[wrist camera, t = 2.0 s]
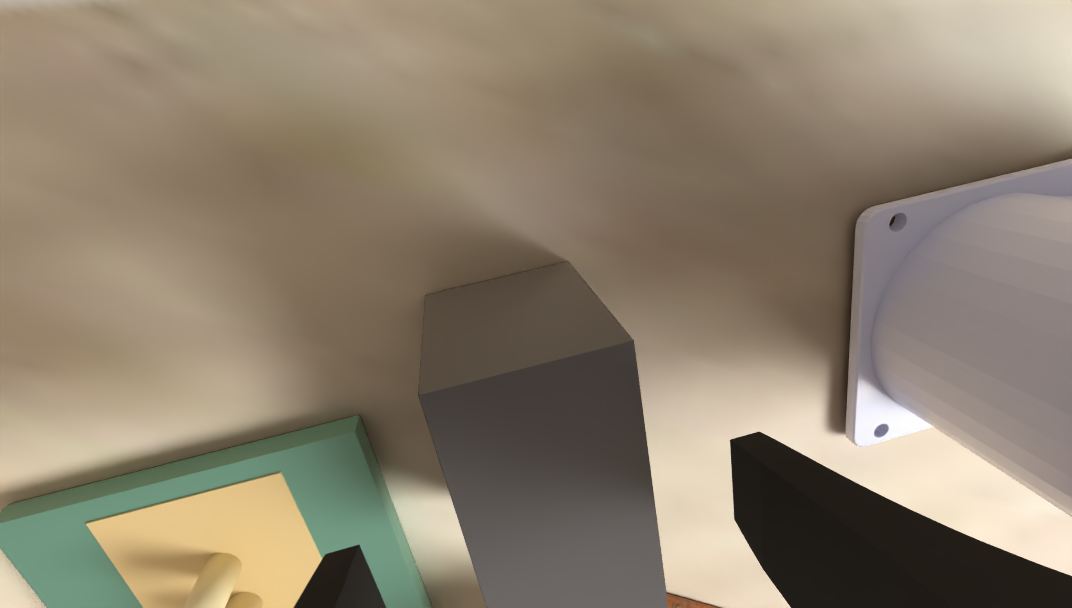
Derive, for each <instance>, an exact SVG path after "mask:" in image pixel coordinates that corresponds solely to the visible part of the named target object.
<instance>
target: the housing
mask: <svg viewBox="0 0 1072 608" xmlns="http://www.w3.org/2000/svg"><path fill="white" fill-rule="evenodd" d="M418 396H419V399H420V402H421V405H422V408H423V411H424V415H425V418H426V421H427V424H428V427H429V430H430V433H431V436H432V439H433V443H434V446H435V449H436V452H437V455H438V458H439V461H440V464H441V467H442V471H443V474H444V477H445V480H446V483H447V486H448V489H449V492H450V495H451V498H452V502H453V505H454V508H455V511H456V514H457V517H458V520H459V523H460V526H461V530H462V533H463V536H464V539H465V542H466V545H467V548H468V551H469V554H470V557H471V561H472V564H473V567H474V570H475V573H476V576H477V579H478V582H479V585H480V589H481V592H482V595H483V598H484V601H485V604H486V607H487V608H668V601H667V594H666V586H665V578H664V571H663V563H662V555H661V547H660V540H659V532H658V524H657V516H656V509H655V501H654V493H653V486H652V478H651V470H650V462H649V455H648V447H647V439H646V432H645V424H644V416H643V408H642V401H641V393H640V385H639V378H638V370H637V362H636V354H635V347H634V340H633V339H632V338H631V337H630V335H629V334H628V333H627V332H626V331H625V329H624V328H623V327H622V326H621V324H620V323H619V322H618V321H617V320H616V318H615V317H614V316H613V315H612V314H611V312H610V311H609V310H608V309H607V308H606V306H605V305H604V304H603V303H602V302H601V300H600V299H599V298H598V297H597V295H596V294H595V293H594V292H593V291H592V289H591V288H590V287H589V286H588V285H587V283H586V282H585V281H584V280H583V279H582V277H581V276H580V275H579V274H578V273H577V271H576V270H575V269H574V268H573V267H572V265H571V264H570V263H569V262H568V261H567V262H563V263H559V264H555V265H551V266H546V267H542V268H538V269H534V270H529V271H525V272H521V273H517V274H513V275H508V276H504V277H500V278H496V279H492V280H487V281H483V282H479V283H475V284H470V285H466V286H462V287H458V288H454V289H449V290H445V291H441V292H437V293H432V294H428V295H425V306H424V320H423V334H422V349H421V363H420V377H419V392H418Z"/></svg>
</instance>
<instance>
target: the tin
mask: <svg viewBox="0 0 1072 608" xmlns="http://www.w3.org/2000/svg"><path fill="white" fill-rule="evenodd" d="M666 594H667V593H666ZM667 601H668V608H717V607H714V606H711V605H707V604H703V603H700V602H696V601H692V600H689V599H685V598H682V597H678V596H674V595H671V594H667Z"/></svg>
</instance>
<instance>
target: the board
mask: <svg viewBox="0 0 1072 608" xmlns="http://www.w3.org/2000/svg"><path fill="white" fill-rule="evenodd" d="M355 545H360V547H361V549H362V552H363V554H364V556H365V559H366V561H367V563H368V566H369V568H370V570H371V573H372V575H373V577H374V580H375V582H376V584H377V587H378V589H379V591H380V594H381V596H382V598H383V601H384V603H385V606H386V608H432V605H431V603H430V600H429V598H428V595H427V592H426V590H425V587H424V584H423V582H422V579H421V576H420V574H419V571H418V569H417V566H416V563H415V561H414V558H413V555H412V553H411V550H410V547H409V545H408V542H407V540H406V537H405V534H404V532H403V529H402V526H401V524H400V521H399V518H398V516H397V513H396V511H395V508H394V505H393V503H392V500H391V497H390V495H389V492H388V489H387V487H386V484H385V482H384V479H383V476H382V474H381V471H380V468H379V466H378V463H377V460H376V458H375V455H374V453H373V450H372V447H371V445H370V442H369V439H368V437H367V434H366V431H365V429H364V426H363V424H362V421H361V418H360V416H359V415H357V416H353V417H349V418H345V419H341V420H337V421H333V422H329V423H325V424H322V425H318V426H314V427H310V428H306V429H302V430H298V431H294V432H290V433H286V434H282V435H278V436H274V437H271V438H267V439H263V440H259V441H255V442H251V443H247V444H243V445H239V446H235V447H231V448H227V449H223V450H220V451H216V452H212V453H208V454H204V455H200V456H196V457H192V458H188V459H184V460H180V461H176V462H173V463H169V464H165V465H161V466H157V467H153V468H149V469H145V470H141V471H137V472H133V473H129V474H125V475H122V476H118V477H114V478H110V479H106V480H102V481H98V482H94V483H90V484H86V485H82V486H78V487H75V488H71V489H67V490H63V491H59V492H55V493H51V494H47V495H43V496H39V497H35V498H31V499H27V500H24V501H20V502H16V503H12V504H9V505H8V506H7V507H5V508H4V509H3V510H2V511H1V512H0V548H1V549H2V551H3V552H4V553H5V555H6V556H7V557H8V558H9V560H10V561H11V562H12V563H13V565H14V566H15V567H16V569H17V570H18V571H19V572H20V574H21V575H22V576H23V577H24V579H25V580H26V581H27V583H28V584H29V585H30V586H31V588H32V589H33V590H34V591H35V593H36V594H37V595H38V597H39V598H40V599H41V600H42V602H43V603H44V604H45V605H46V607H47V608H293V607H294V606H295V604H296V602H297V601H298V599H299V597H300V596H301V594H302V592H303V590H304V589H305V587H306V585H307V584H308V582H309V580H310V579H311V577H312V575H313V573H314V572H315V570H316V569H317V567H318V565H319V564H320V562H321V560H322V559H323V557H324V556H325V554H327V553H331V552H334V551H338V550H341V549H345V548H348V547H352V546H355Z"/></svg>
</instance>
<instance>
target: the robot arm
mask: <svg viewBox="0 0 1072 608" xmlns="http://www.w3.org/2000/svg"><path fill="white" fill-rule="evenodd" d="M894 215H895V220H894V223H893V224H892V225H891V226H889V224H890V221H891V219H892V218H893V216H894ZM930 427H935V428H936V429H938V430H939V431H941V432H942V433H944V434H946V435H947V436H949V437H950V438H952V439H953V440H955V441H956V442H958V443H959V444H961V445H962V446H964V447H965V448H967V449H969V450H970V451H972V452H973V453H975V454H976V455H978V456H979V457H981V458H982V459H984V460H985V461H987V462H989V463H990V464H992V465H993V466H995V467H996V468H998V469H999V470H1001V471H1002V472H1004V473H1005V474H1007V475H1009V476H1010V477H1012V478H1013V479H1015V480H1016V481H1018V482H1019V483H1021V484H1022V485H1024V486H1025V487H1027V488H1029V489H1030V490H1032V491H1033V492H1035V493H1036V494H1038V495H1039V496H1041V497H1042V498H1044V499H1045V500H1047V501H1048V502H1050V503H1052V504H1053V505H1055V506H1056V507H1058V508H1059V509H1061V510H1062V511H1064V512H1065V513H1067V514H1068V515H1070V516H1072V159H1068V160H1064V161H1059V162H1055V163H1051V164H1047V165H1043V166H1039V167H1034V168H1030V169H1026V170H1022V171H1018V172H1014V173H1010V174H1005V175H1001V176H997V177H993V178H989V179H985V180H980V181H976V182H972V183H968V184H964V185H960V186H955V187H951V188H947V189H943V190H939V191H935V192H930V193H926V194H922V195H918V196H914V197H910V198H905V199H901V200H897V201H893V202H889V203H885V204H880V205H876V206H873V207H870V208H868V209H866V210H865V211H864V212H863V213H862V214H861V215H860V217H859V218H858V220H857V223H856V228H855V248H854V269H853V289H852V310H851V330H850V351H849V371H848V392H847V412H846V437H847V438H848V439H849V440H850V441H851V442H852V443H854V444H855V445H857V446H860V447H861V446H867V445H871V444H874V443H878V442H881V441H885V440H888V439H892V438H895V437H899V436H902V435H906V434H909V433H913V432H916V431H920V430H923V429H927V428H930ZM730 446H731V464H732V483H733V501H734V519H735V521H736V523H737V525H738V526H739V528H740V530H741V532H742V534H743V535H744V537H745V539H746V541H747V543H748V544H749V546H750V548H751V549H752V551H753V553H754V554H755V556H756V558H757V560H758V561H759V563H760V565H761V566H762V568H763V570H764V571H765V572H766V574H767V575H768V577H769V578H770V579H771V581H772V582H773V583H774V585H775V586H776V588H777V589H778V590H779V592H780V593H781V594H782V596H783V597H784V599H785V600H786V601H787V603H788V604H789V605H790V607H791V608H1072V576H1070V575H1067V574H1064V573H1062V572H1059V571H1056V570H1053V569H1051V568H1048V567H1045V566H1042V565H1040V564H1037V563H1035V562H1032V561H1030V560H1027V559H1024V558H1022V557H1019V556H1017V555H1014V554H1012V553H1009V552H1007V551H1004V550H1002V549H999V548H997V547H994V546H992V545H989V544H987V543H984V542H982V541H979V540H977V539H975V538H972V537H970V536H968V535H965V534H963V533H961V532H958V531H956V530H954V529H951V528H949V527H947V526H945V525H943V524H940V523H938V522H936V521H934V520H932V519H930V518H927V517H925V516H923V515H921V514H919V513H916V512H914V511H912V510H910V509H908V508H906V507H904V506H902V505H899V504H897V503H895V502H893V501H891V500H889V499H887V498H885V497H883V496H881V495H879V494H877V493H875V492H873V491H871V490H869V489H867V488H865V487H863V486H861V485H859V484H857V483H855V482H853V481H851V480H850V479H848V478H846V477H844V476H842V475H840V474H838V473H836V472H834V471H832V470H831V469H829V468H827V467H825V466H823V465H821V464H819V463H817V462H816V461H814V460H812V459H810V458H808V457H806V456H804V455H803V454H801V453H799V452H797V451H795V450H793V449H791V448H790V447H788V446H786V445H784V444H782V443H780V442H778V441H777V440H775V439H773V438H771V437H769V436H767V435H765V434H763V433H761V432H756V433H753V434H749V435H746V436H742V437H738V438H735V439H731V440H730ZM293 608H386V606H385V603H384V601H383V598H382V596H381V594H380V591H379V589H378V587H377V584H376V582H375V580H374V577H373V575H372V573H371V570H370V568H369V566H368V563H367V561H366V559H365V556H364V554H363V552H362V549H361V547H360V545H355V546H352V547H348V548H345V549H341V550H338V551H334V552H331V553H327V554H325V556H324V557H323V559H322V560H321V562H320V564H319V565H318V567H317V569H316V570H315V572H314V573H313V575H312V577H311V579H310V580H309V582H308V584H307V585H306V587H305V589H304V590H303V592H302V594H301V596H300V597H299V599H298V601H297V602H296V604H295V606H294V607H293Z"/></svg>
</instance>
